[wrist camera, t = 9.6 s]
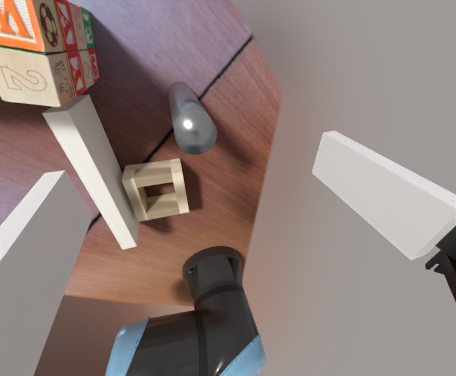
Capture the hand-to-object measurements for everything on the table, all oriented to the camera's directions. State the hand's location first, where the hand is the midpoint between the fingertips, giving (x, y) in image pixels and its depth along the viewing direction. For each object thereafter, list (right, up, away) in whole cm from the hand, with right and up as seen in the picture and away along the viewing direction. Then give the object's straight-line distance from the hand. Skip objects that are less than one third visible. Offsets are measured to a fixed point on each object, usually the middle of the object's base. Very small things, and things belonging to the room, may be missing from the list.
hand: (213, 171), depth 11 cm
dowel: (-5, +11, +15) cm, 20 cm away
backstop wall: (-16, +2, +18) cm, 25 cm away
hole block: (-11, 0, +22) cm, 24 cm away
